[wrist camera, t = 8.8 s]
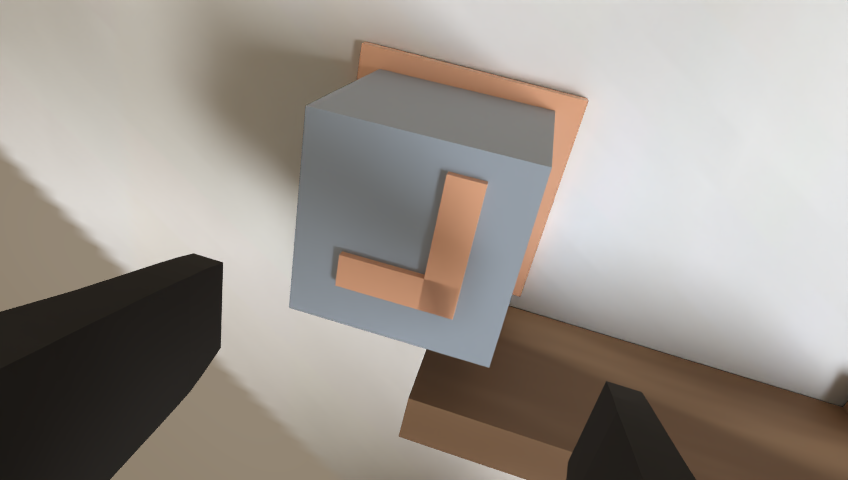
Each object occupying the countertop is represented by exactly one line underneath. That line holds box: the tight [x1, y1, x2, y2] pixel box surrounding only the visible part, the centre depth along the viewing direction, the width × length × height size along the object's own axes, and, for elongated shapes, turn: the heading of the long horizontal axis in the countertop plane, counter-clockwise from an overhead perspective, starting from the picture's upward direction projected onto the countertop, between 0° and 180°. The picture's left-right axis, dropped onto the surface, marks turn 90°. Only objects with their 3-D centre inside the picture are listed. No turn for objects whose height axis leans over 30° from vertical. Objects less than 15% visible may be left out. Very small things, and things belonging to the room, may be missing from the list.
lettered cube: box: [289, 69, 555, 368], centre depth 15 cm, size 6×6×6 cm
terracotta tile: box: [357, 42, 588, 297], centre depth 18 cm, size 7×7×1 cm
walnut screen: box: [399, 306, 848, 480], centre depth 17 cm, size 4×16×6 cm, turn 78°
